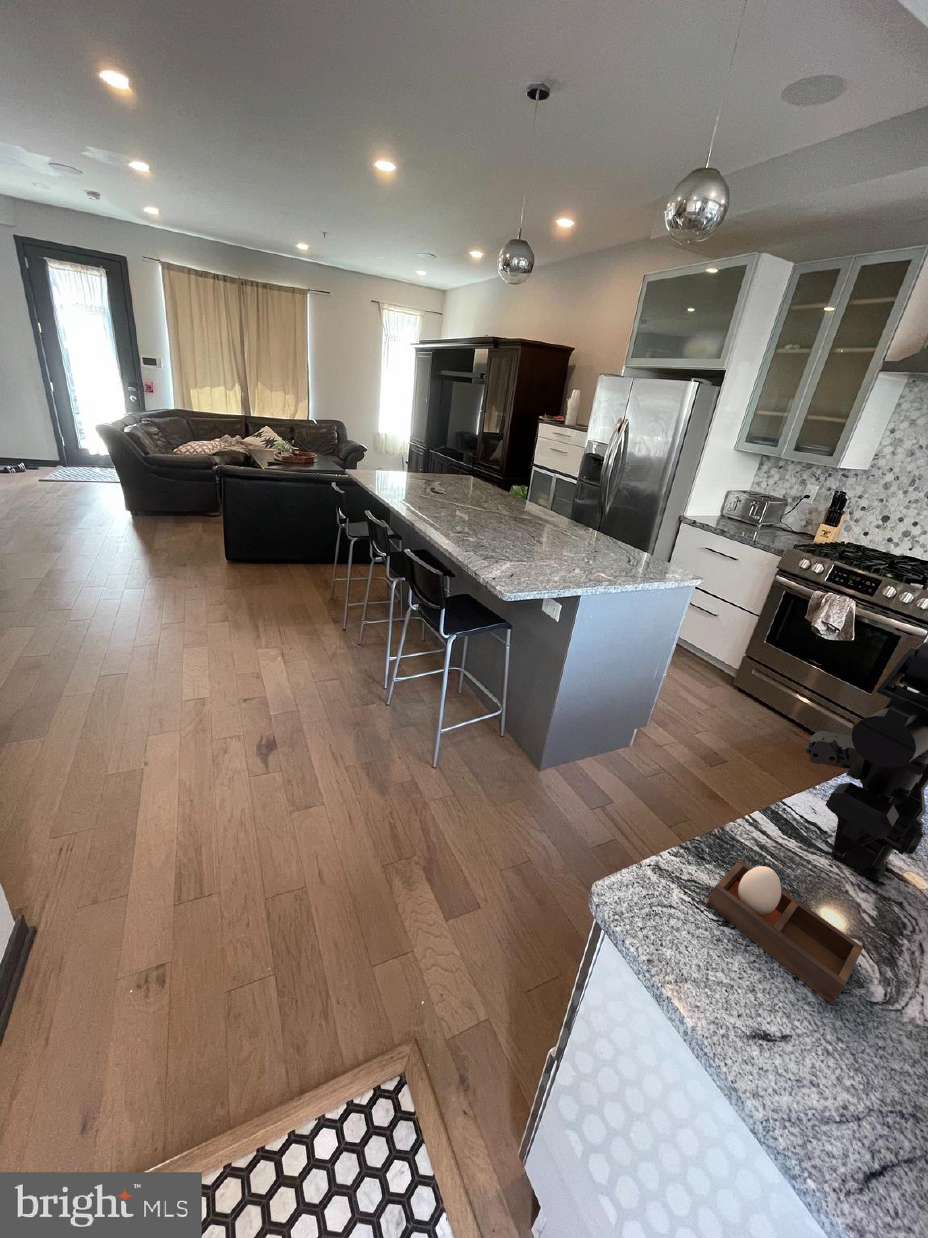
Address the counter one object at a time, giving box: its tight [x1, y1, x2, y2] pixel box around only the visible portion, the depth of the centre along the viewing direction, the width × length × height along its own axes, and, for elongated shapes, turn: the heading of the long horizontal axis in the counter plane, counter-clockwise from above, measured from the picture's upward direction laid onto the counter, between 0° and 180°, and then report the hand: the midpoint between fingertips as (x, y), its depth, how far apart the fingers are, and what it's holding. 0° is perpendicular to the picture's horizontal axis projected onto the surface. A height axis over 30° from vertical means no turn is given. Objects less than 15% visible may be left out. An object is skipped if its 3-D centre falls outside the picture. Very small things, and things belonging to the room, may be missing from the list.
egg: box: [738, 865, 782, 915], centre depth 68 cm, size 5×5×7 cm
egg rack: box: [706, 859, 864, 1005], centre depth 66 cm, size 8×15×4 cm, turn 39°
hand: (848, 836), depth 68 cm, fingers open, 9 cm apart
